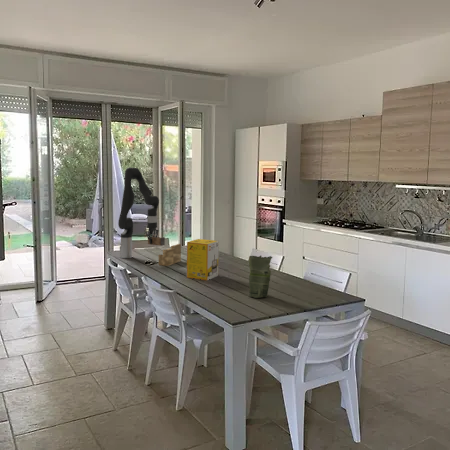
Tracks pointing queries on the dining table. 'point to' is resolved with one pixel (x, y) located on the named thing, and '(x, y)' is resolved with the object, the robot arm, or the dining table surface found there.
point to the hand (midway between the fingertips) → (152, 243)
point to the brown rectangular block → (157, 241)
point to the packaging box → (202, 259)
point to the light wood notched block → (170, 255)
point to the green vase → (259, 276)
